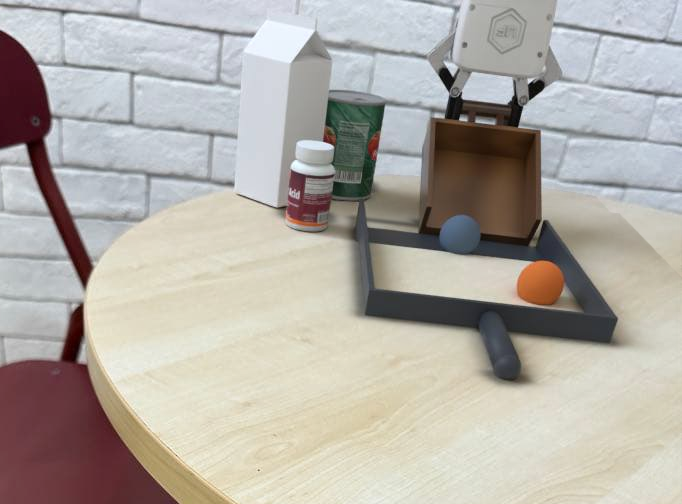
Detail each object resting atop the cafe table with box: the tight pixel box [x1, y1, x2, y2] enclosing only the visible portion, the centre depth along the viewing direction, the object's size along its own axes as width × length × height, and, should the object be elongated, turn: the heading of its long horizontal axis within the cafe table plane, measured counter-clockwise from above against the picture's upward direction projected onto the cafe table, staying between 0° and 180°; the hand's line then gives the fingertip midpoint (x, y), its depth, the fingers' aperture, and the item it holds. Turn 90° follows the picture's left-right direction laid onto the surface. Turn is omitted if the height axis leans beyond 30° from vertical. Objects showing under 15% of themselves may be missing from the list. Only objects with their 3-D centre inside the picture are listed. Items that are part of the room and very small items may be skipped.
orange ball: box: [516, 261, 565, 306], centre depth 79 cm, size 4×4×4 cm
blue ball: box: [439, 215, 480, 255], centre depth 88 cm, size 4×4×4 cm
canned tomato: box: [323, 89, 387, 202], centre depth 104 cm, size 8×8×11 cm
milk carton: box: [233, 8, 333, 208], centre depth 96 cm, size 7×7×19 cm
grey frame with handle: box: [354, 198, 619, 381], centre depth 79 cm, size 38×21×3 cm, turn 177°
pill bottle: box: [284, 140, 335, 233], centre depth 92 cm, size 5×5×8 cm
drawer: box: [417, 98, 543, 246], centre depth 96 cm, size 13×16×5 cm
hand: (478, 135), depth 99 cm, fingers closed on drawer, 5 cm apart
